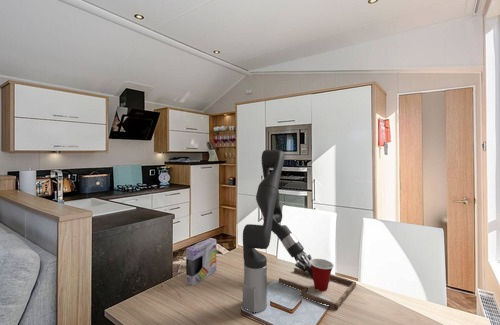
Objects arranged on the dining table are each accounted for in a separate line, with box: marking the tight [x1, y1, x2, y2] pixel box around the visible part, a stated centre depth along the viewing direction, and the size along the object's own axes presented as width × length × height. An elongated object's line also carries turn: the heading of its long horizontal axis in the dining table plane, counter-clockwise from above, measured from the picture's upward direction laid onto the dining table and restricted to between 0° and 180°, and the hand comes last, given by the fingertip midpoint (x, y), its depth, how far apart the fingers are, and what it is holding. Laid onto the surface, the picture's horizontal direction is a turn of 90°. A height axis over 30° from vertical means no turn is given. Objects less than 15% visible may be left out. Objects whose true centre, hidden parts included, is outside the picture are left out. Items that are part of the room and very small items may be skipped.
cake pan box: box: [185, 237, 217, 287], centre depth 129 cm, size 19×5×18 cm, turn 148°
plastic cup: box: [310, 258, 335, 292], centre depth 119 cm, size 11×11×12 cm
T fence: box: [278, 267, 357, 311], centre depth 121 cm, size 24×30×2 cm
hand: (315, 276), depth 121 cm, fingers closed
